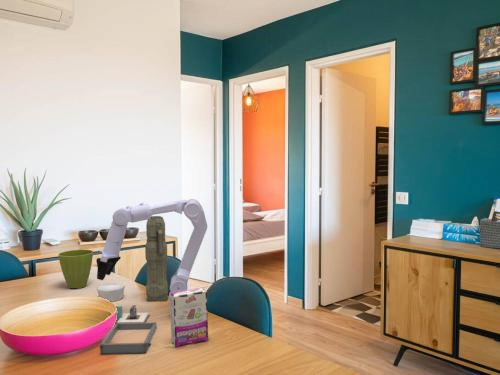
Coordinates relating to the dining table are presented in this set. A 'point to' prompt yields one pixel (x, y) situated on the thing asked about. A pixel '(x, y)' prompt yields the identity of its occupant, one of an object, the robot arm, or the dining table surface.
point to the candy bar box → (189, 316)
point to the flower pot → (76, 267)
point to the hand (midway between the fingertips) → (103, 276)
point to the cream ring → (125, 316)
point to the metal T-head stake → (133, 313)
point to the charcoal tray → (128, 347)
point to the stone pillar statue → (156, 260)
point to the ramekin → (111, 291)
